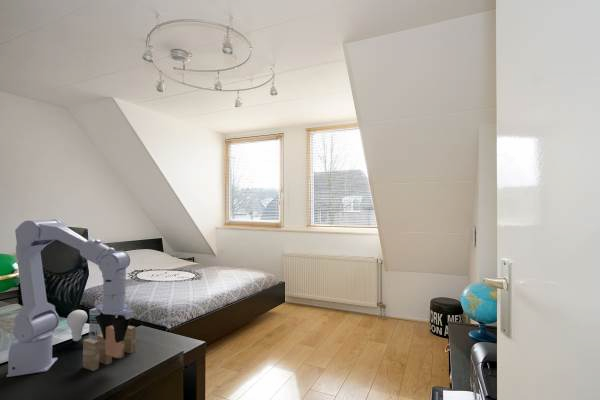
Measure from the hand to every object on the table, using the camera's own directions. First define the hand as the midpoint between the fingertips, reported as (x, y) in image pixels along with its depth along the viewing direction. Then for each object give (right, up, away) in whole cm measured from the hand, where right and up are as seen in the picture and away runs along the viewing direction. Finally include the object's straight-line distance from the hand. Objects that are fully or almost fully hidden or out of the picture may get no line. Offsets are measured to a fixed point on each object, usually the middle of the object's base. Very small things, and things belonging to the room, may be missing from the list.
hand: (113, 339), depth 91 cm
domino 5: (-2, -9, +12) cm, 15 cm away
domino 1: (-8, -9, +1) cm, 12 cm away
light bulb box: (-18, -10, +26) cm, 33 cm away
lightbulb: (-25, -10, +20) cm, 34 cm away
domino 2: (-6, -9, +5) cm, 12 cm away
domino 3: (0, -4, 0) cm, 4 cm away
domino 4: (-4, -9, +8) cm, 13 cm away
